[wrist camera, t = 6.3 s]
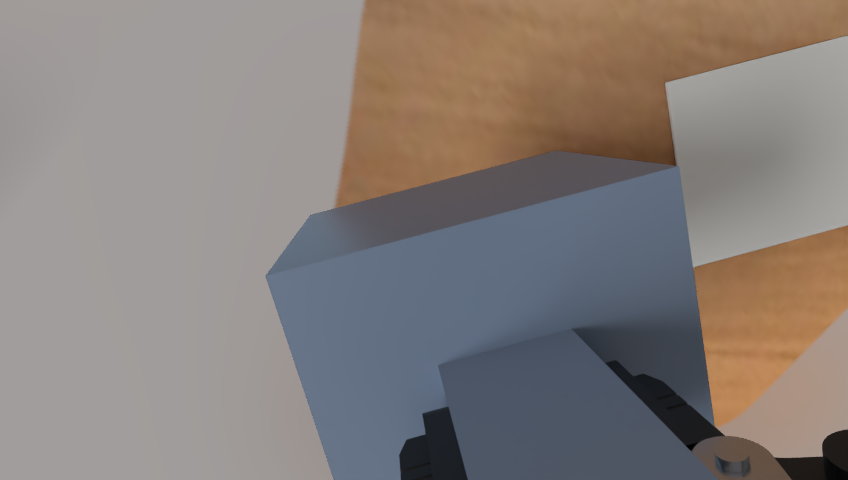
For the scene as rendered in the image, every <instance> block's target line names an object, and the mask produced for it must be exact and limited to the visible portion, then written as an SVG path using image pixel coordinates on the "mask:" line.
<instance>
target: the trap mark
mask: <svg viewBox="0 0 848 480" xmlns="http://www.w3.org/2000/svg"><path fill="white" fill-rule="evenodd" d="M665 88H666V95H667V103H668V110H669V117H670V125H671V132H672V139H673V147H674V154H675V161H676V166H679V169H680V176H681V184H682V191H683V198H684V205H685V213H686V220H687V227H688V235H689V242H690V249H691V257H692V264H693V267H696V266H700V265H704V264H707V263H711V262H715V261H718V260H722V259H726V258H729V257H733V256H737V255H740V254H744V253H748V252H751V251H755V250H759V249H762V248H766V247H770V246H773V245H777V244H781V243H784V242H788V241H792V240H795V239H799V238H803V237H806V236H810V235H814V234H818V233H821V232H825V231H829V230H832V229H836V228H840V227H843V226H847V225H848V35H847V36H843V37H840V38H836V39H832V40H828V41H824V42H820V43H816V44H813V45H809V46H805V47H801V48H797V49H793V50H789V51H786V52H782V53H778V54H774V55H770V56H766V57H762V58H759V59H755V60H751V61H747V62H743V63H739V64H735V65H731V66H728V67H724V68H720V69H716V70H712V71H708V72H704V73H701V74H697V75H693V76H689V77H685V78H681V79H677V80H674V81H670V82H666V83H665Z"/></svg>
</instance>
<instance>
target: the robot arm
mask: <svg viewBox="0 0 848 480" xmlns="http://www.w3.org/2000/svg"><path fill="white" fill-rule="evenodd" d="M605 364H606V365H607V366H608V367H609V368H610V369H611V370H612V371H613V372H614V373H615V374H616V375H617V376H618V377H619V378H620V379H621V380H622V381H623V382H624V383H625V384H626V385H627V386H628V387H629V388H630V389H631V390H632V391H633V392H634V393H635V394H636V396H637V397H638V398H639V399H640V400H641V401H642V402H643V403H644V404H645V405H646V406H647V407H648V408H649V409H650V410H651V411H652V412H653V413H654V414H655V415H656V416H657V417H658V418H659V419H660V420H661V421H662V422H663V423H664V424H665V425H666V426H667V427H668V428H669V429H670V430H671V431H672V432H673V433H674V434H675V435H676V436H677V437H678V439H679V440H680V441H681V442H682V443H683V444H684V445H685V446H686V447H687V448H688V449H689V450H690V451H691V452H692V453H693V454H694V455H695V456H696V457H697V458H698V459H699V460H700V461H701V462H702V463H703V464H704V465H705V466H706V467H707V468H708V469H709V470H710V471H711V472H712V473H713V474H714V475H715V476H716V477H717V478H718V479H719V480H848V430H842V431H838V432H835V433H832V434H831V435H829V436H827V438H826V439H825V440H824V441H823V444H822V451H823V457H806V458H805V457H804V458H775V457H773V455H772V454H771V453H770V452H769V451H768V450H767V449H765V448H764V447H763V446H761V445H759V444H758V443H755V442H753V441H750V440H747V439H744V438H739V437H733V436H725V435H723V434H722V433H721V432H720V431H719V430H718V429H717V428H715V427H714V426H713V425H712V424H711V423H710V422H709V421H708V420H706V419H705V418H704V417H703V416H702V415H701V414H700V413H698V412H697V411H696V410H695V409H694V408H693V407H692V406H690V405H688V404H687V402H686V401H685V400H684V399H683V398H681V397H680V396H679V395H677V394H676V392H675V391H673V390H672V389H671V388H670V387H669V386H668V385H667V384H665V383H664V382H663V381H661V380H659V379H656V378H653V377H651V376H648V375H646V374H640V375H636V376H633V375H631V374H630V373H629V372H628V371H627V370H626V369H625V368H624V367H623V366H622V365H621V364H620V363H619V362H618V361H616V360H613V361H610V362H606V363H605ZM422 415H423V422H424V428H425V435H421V436H417V437H414V438H410V439H407V440H406V442H405V444H404V446H403V448H402V450H401V452H400V454H399V460H400V471H401V473H400V474H401V480H468V478H467V475H466V471H465V467H464V463H463V459H462V456H461V452H460V448H459V444H458V440H457V437H456V433H455V429H454V425H453V422H452V418H451V414H450V410H449V406H447V407H443V408H440V409H436V410H433V411H429V412H425V413H422Z"/></svg>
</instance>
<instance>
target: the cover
mask: <svg viewBox="0 0 848 480" xmlns="http://www.w3.org/2000/svg"><path fill="white" fill-rule="evenodd" d="M266 279H267V282H268V285H269V288H270V291H271V294H272V297H273V300H274V303H275V306H276V308H277V312H278V315H279V318H280V320H281V324H282V326H283V329H284V332H285V336H286V339H287V341H288V344H289V347H290V351H291V354H292V356H293V360H294V362H295V365H296V368H297V371H298V374H299V377H300V380H301V383H302V386H303V389H304V392H305V395H306V398H307V401H308V404H309V407H310V410H311V413H312V416H313V419H314V422H315V425H316V428H317V431H318V434H319V437H320V440H321V443H322V446H323V449H324V452H325V455H326V458H327V461H328V464H329V467H330V469H331V473H332V476H333V479H334V480H401V474H400V473H401V471H400V460H399V454H400V452H401V450H402V448H403V446H404V444H405V442H406V440H407V439H410V438H414V437H417V436H421V435H425V428H424V422H423V415H422V413H425V412H429V411H433V410H436V409H440V408H443V407H447V406H449V410H450V414H451V418H452V422H453V425H454V429H455V433H456V437H457V440H458V444H459V448H460V452H461V456H462V459H463V463H464V467H465V471H466V475H467V478H468V480H719V479H718V478H717V477H716V476H715V475H714V474H713V473H712V472H711V471H710V470H709V469H708V468H707V467H706V466H705V465H704V464H703V463H702V462H701V461H700V460H699V459H698V458H697V457H696V456H695V455H694V454H693V453H692V452H691V451H690V450H689V449H688V448H687V447H686V446H685V445H684V444H683V443H682V442H681V441H680V440H679V439H678V437H677V436H676V435H675V434H674V433H673V432H672V431H671V430H670V429H669V428H668V427H667V426H666V425H665V424H664V423H663V422H662V421H661V420H660V419H659V418H658V417H657V416H656V415H655V414H654V413H653V412H652V411H651V410H650V409H649V408H648V407H647V406H646V405H645V404H644V403H643V402H642V401H641V400H640V399H639V398H638V397H637V396H636V394H635V393H634V392H633V391H632V390H631V389H630V388H629V387H628V386H627V385H626V384H625V383H624V382H623V381H622V380H621V379H620V378H619V377H618V376H617V375H616V374H615V373H614V372H613V371H612V370H611V369H610V368H609V367H608V366H607V365H606V364H605V363H606V362H610V361H613V360H616V361H618V362H619V363H620V364H621V365H622V366H623V367H624V368H625V369H626V370H627V371H628V372H629V373H630V374H631V375H633V376H636V375H640V374H646V375H648V376H651V377H653V378H656V379H659V380H661V381H663V382H664V383H665V384H667V385H668V386H669V387H670V388H671V389H672V390H673V391H675V392H676V394H677V395H679V396H680V397H681V398H683V399H684V400H685V401H686V402H687V404H688V405H690V406H692V407H693V408H694V409H695V410H696V411H697V412H698V413H700V414H701V415H702V416H703V417H704V418H705V419H706V420H708V421H709V422H710V423H711V424H712V425H713V426H714V427H715V425H714V418H713V410H712V403H711V396H710V388H709V381H708V374H707V366H706V359H705V352H704V344H703V337H702V330H701V323H700V315H699V308H698V301H697V293H696V286H695V279H694V271H693V264H692V257H691V249H690V242H689V235H688V227H687V220H686V213H685V205H684V198H683V191H682V184H681V176H680V169H679V166H675V165H667V164H659V163H651V162H643V161H635V160H627V159H619V158H611V157H603V156H595V155H587V154H580V153H572V152H564V151H552V152H549V153H545V154H541V155H537V156H533V157H529V158H526V159H522V160H518V161H514V162H510V163H507V164H503V165H499V166H495V167H491V168H488V169H484V170H480V171H476V172H472V173H469V174H465V175H461V176H457V177H453V178H449V179H446V180H442V181H438V182H434V183H430V184H427V185H423V186H419V187H415V188H411V189H408V190H404V191H400V192H396V193H392V194H388V195H385V196H381V197H377V198H373V199H369V200H366V201H362V202H358V203H354V204H350V205H347V206H343V207H339V208H335V209H331V210H328V211H324V212H320V213H316V214H312V215H310V216H309V218H308V219H307V220H306V222H305V223H304V225H303V226H302V227H301V229H300V230H299V231H298V233H297V234H296V236H295V237H294V238H293V239H292V241H291V242H290V244H289V245H288V246H287V248H286V249H285V250H284V252H283V253H282V255H281V256H280V257H279V259H278V260H277V261H276V262H275V264H274V265H273V267H272V268H271V269H270V271H269V272H268V274H267V275H266Z"/></svg>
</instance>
